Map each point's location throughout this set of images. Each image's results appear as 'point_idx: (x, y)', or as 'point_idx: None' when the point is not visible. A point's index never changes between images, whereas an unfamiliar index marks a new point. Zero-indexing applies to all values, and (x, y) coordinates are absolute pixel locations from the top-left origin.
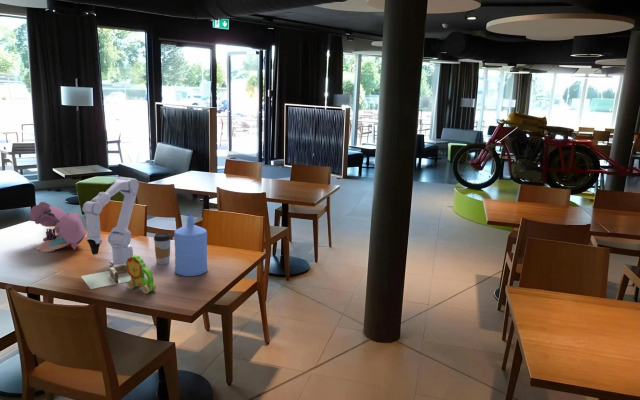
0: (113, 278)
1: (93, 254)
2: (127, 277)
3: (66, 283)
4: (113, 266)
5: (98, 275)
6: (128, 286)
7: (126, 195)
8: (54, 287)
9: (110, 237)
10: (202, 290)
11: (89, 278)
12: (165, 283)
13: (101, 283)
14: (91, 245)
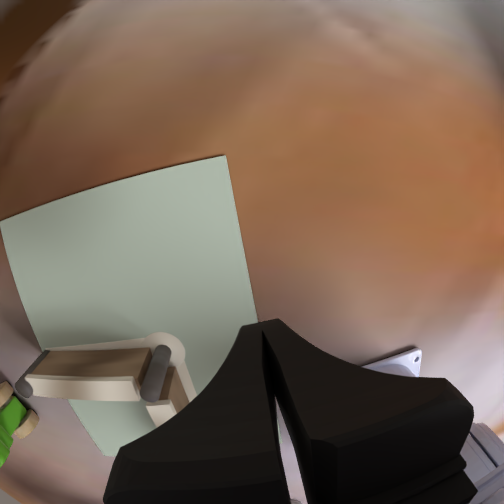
0: (76, 355)
1: (239, 331)
2: (118, 410)
3: (127, 72)
4: (163, 401)
5: (192, 278)
6: (3, 383)
7: None
8: (96, 22)
9: (484, 472)
10: (22, 494)
11: (152, 215)
12: (56, 473)
13: (52, 283)
14: (171, 428)
